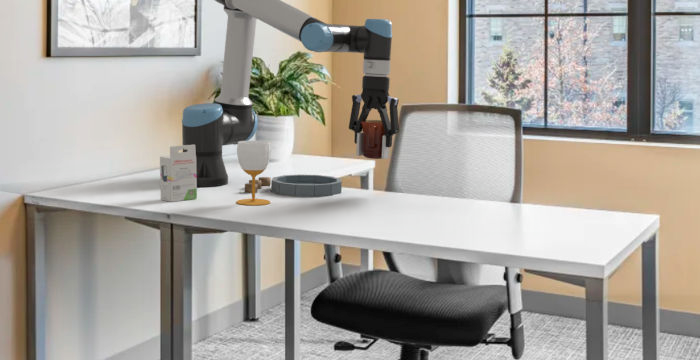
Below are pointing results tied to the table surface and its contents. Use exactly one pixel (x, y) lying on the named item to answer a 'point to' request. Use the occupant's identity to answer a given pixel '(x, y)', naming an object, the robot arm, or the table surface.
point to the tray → (306, 185)
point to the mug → (372, 138)
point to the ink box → (178, 174)
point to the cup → (253, 165)
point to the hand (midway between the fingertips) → (372, 156)
